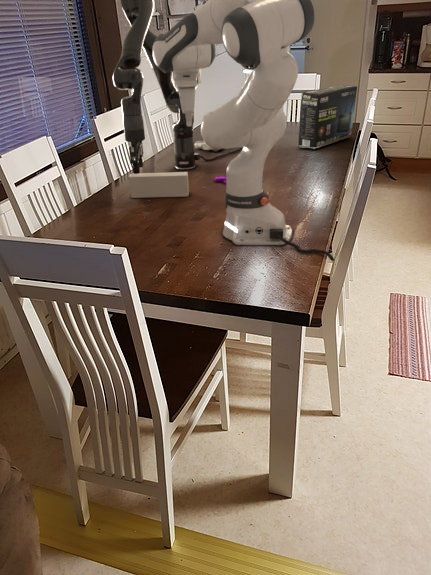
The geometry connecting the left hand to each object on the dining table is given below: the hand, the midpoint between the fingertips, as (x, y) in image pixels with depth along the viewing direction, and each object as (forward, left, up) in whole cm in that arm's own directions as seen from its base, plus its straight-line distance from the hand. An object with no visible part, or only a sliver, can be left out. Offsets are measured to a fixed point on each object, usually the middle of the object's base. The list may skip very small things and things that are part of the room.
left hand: (138, 170), depth 179 cm
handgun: (-20, +30, -10) cm, 37 cm away
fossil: (-76, -1, -10) cm, 76 cm away
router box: (-101, +54, -10) cm, 115 cm away
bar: (-3, +7, -10) cm, 13 cm away
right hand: (+7, +27, +20) cm, 34 cm away
